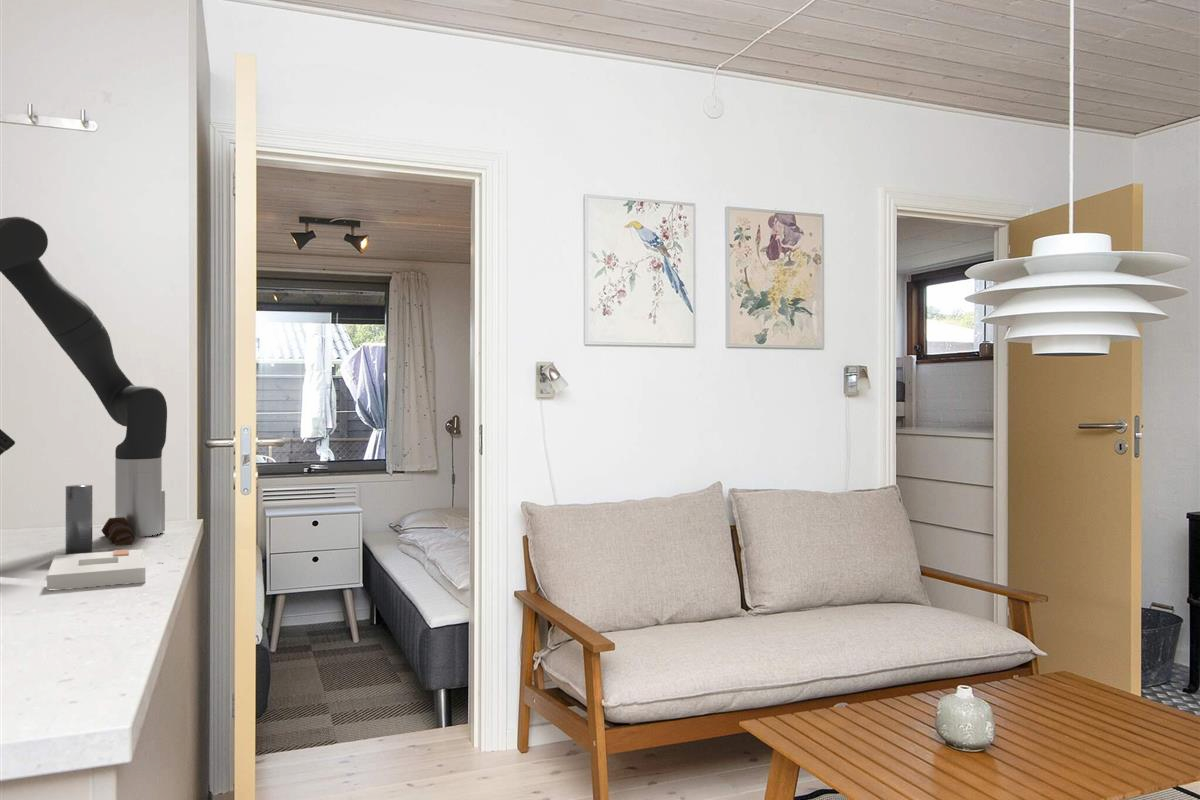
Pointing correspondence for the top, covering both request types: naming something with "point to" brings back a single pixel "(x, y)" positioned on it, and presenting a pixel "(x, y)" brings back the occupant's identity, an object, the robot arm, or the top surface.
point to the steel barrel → (78, 519)
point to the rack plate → (96, 569)
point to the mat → (52, 554)
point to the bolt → (118, 531)
